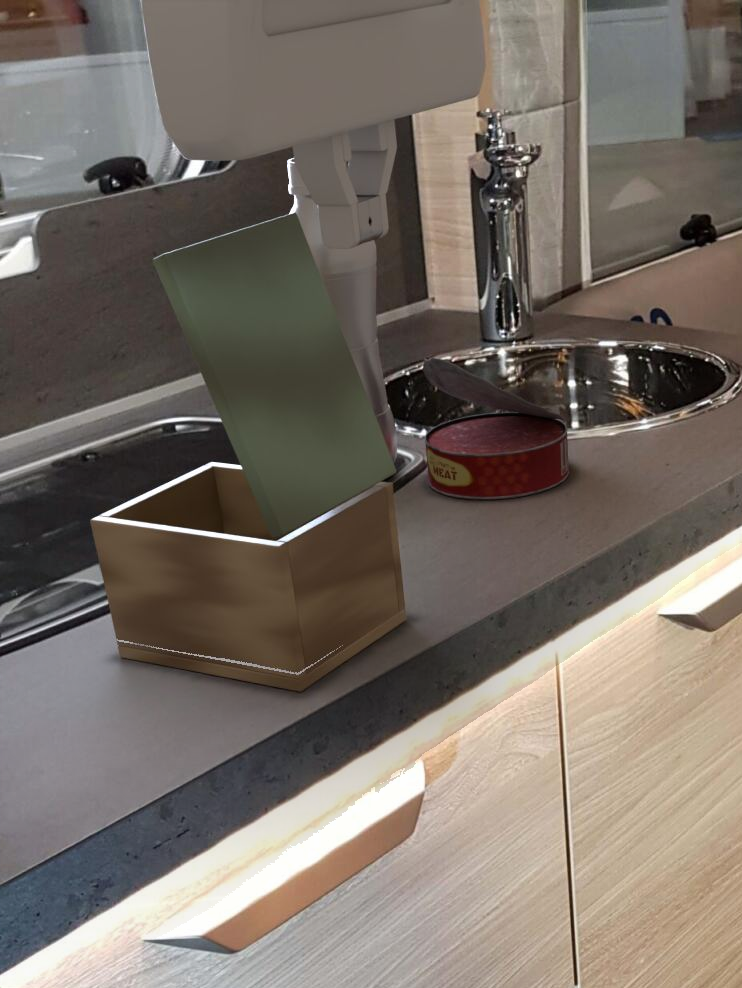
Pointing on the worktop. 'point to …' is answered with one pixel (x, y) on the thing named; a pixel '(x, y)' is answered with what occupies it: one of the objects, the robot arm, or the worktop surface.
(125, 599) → the chest
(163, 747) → the worktop surface
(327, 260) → the plastic bottle
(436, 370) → the canned food
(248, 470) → the lid
